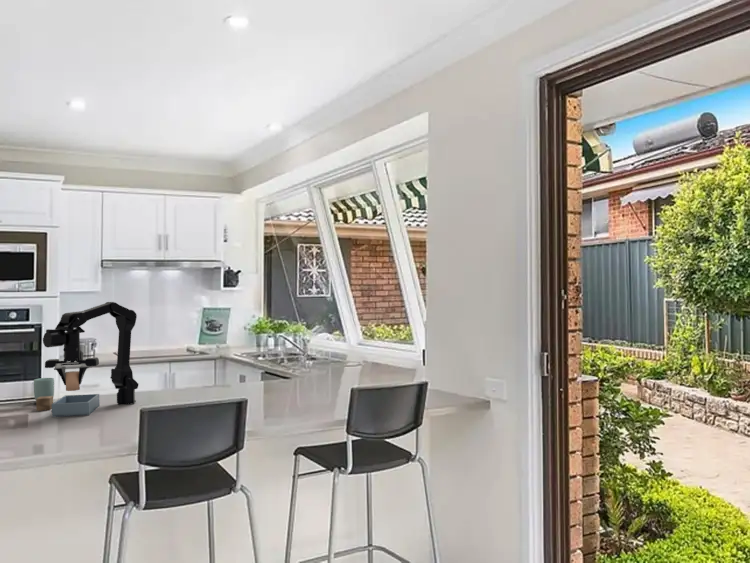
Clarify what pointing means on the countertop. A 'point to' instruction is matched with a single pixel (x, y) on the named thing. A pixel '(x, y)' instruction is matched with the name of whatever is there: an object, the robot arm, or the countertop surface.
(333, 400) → the countertop surface
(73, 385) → the terracotta cylinder
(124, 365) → the robot arm
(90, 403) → the slate tote
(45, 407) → the walnut cube
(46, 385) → the cup
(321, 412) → the countertop surface
